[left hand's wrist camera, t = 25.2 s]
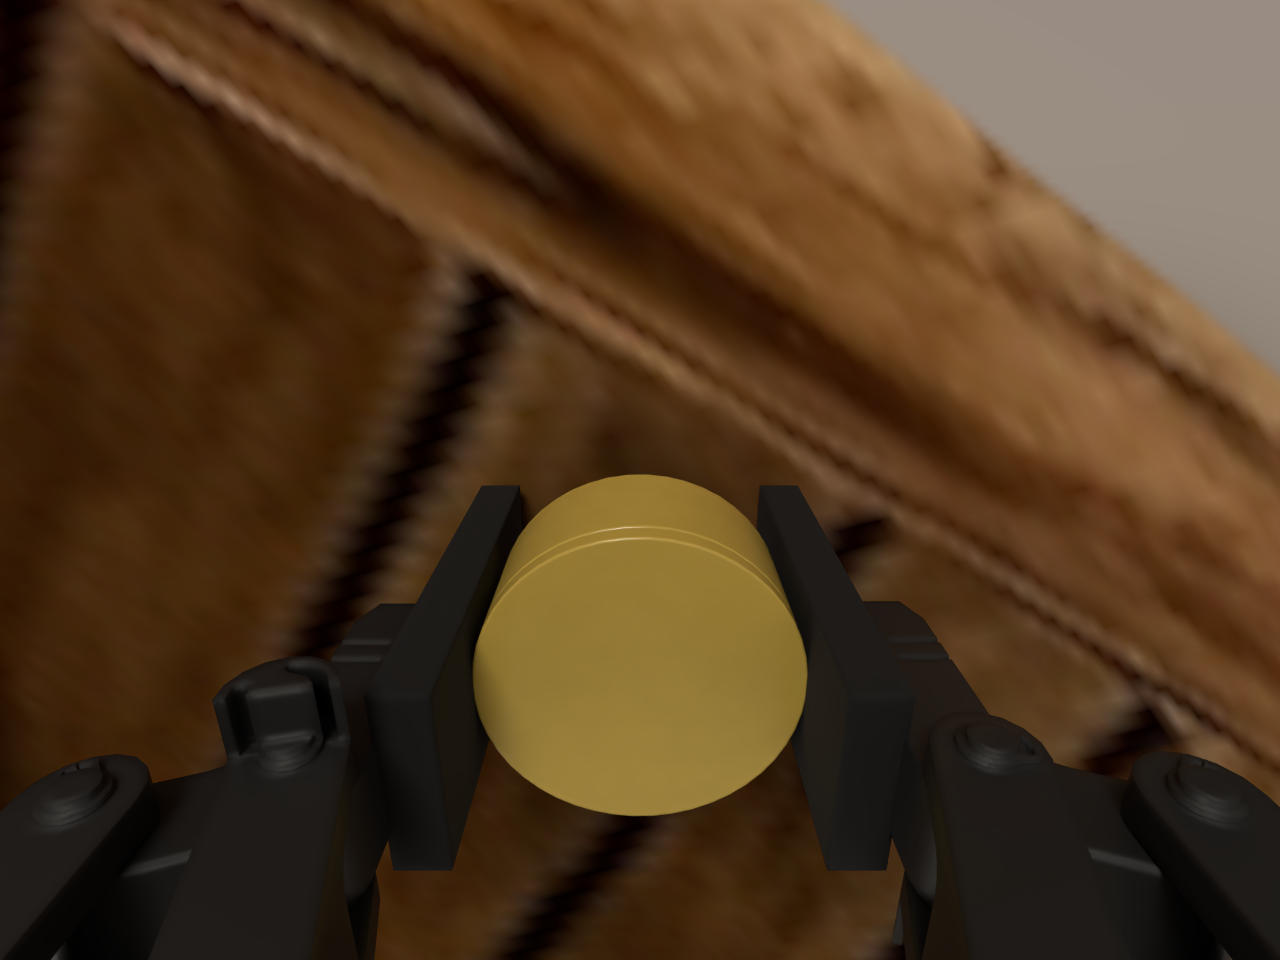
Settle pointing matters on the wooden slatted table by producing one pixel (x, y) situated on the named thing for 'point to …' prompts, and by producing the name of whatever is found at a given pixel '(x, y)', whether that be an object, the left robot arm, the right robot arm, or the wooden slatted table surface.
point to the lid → (639, 650)
